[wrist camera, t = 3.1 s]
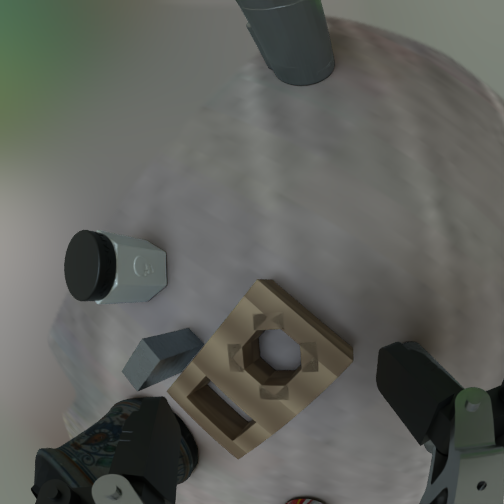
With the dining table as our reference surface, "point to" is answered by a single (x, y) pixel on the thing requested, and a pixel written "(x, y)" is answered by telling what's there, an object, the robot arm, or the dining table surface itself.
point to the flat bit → (161, 357)
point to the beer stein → (101, 451)
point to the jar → (113, 268)
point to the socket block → (258, 370)
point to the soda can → (303, 501)
